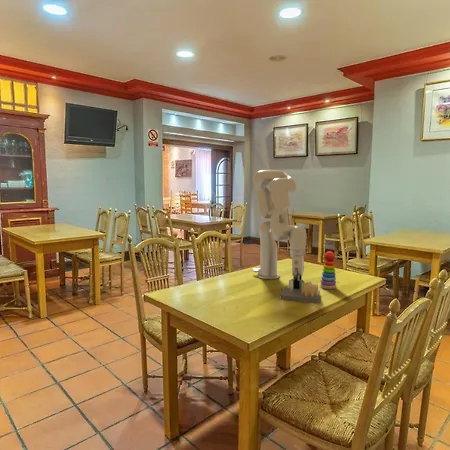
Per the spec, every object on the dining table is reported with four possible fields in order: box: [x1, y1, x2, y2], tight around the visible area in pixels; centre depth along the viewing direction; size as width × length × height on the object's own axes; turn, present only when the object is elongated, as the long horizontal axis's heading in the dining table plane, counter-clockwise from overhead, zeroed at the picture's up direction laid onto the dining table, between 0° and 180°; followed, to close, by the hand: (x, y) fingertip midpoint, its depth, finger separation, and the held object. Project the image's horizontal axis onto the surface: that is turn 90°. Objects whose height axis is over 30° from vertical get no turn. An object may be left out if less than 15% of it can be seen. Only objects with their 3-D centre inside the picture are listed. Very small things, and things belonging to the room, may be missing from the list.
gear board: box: [279, 279, 321, 304], centre depth 164 cm, size 17×12×8 cm
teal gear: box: [288, 278, 306, 289], centre depth 176 cm, size 8×8×4 cm
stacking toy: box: [319, 251, 337, 290], centre depth 178 cm, size 8×8×19 cm
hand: (297, 285), depth 175 cm, fingers open, 9 cm apart
